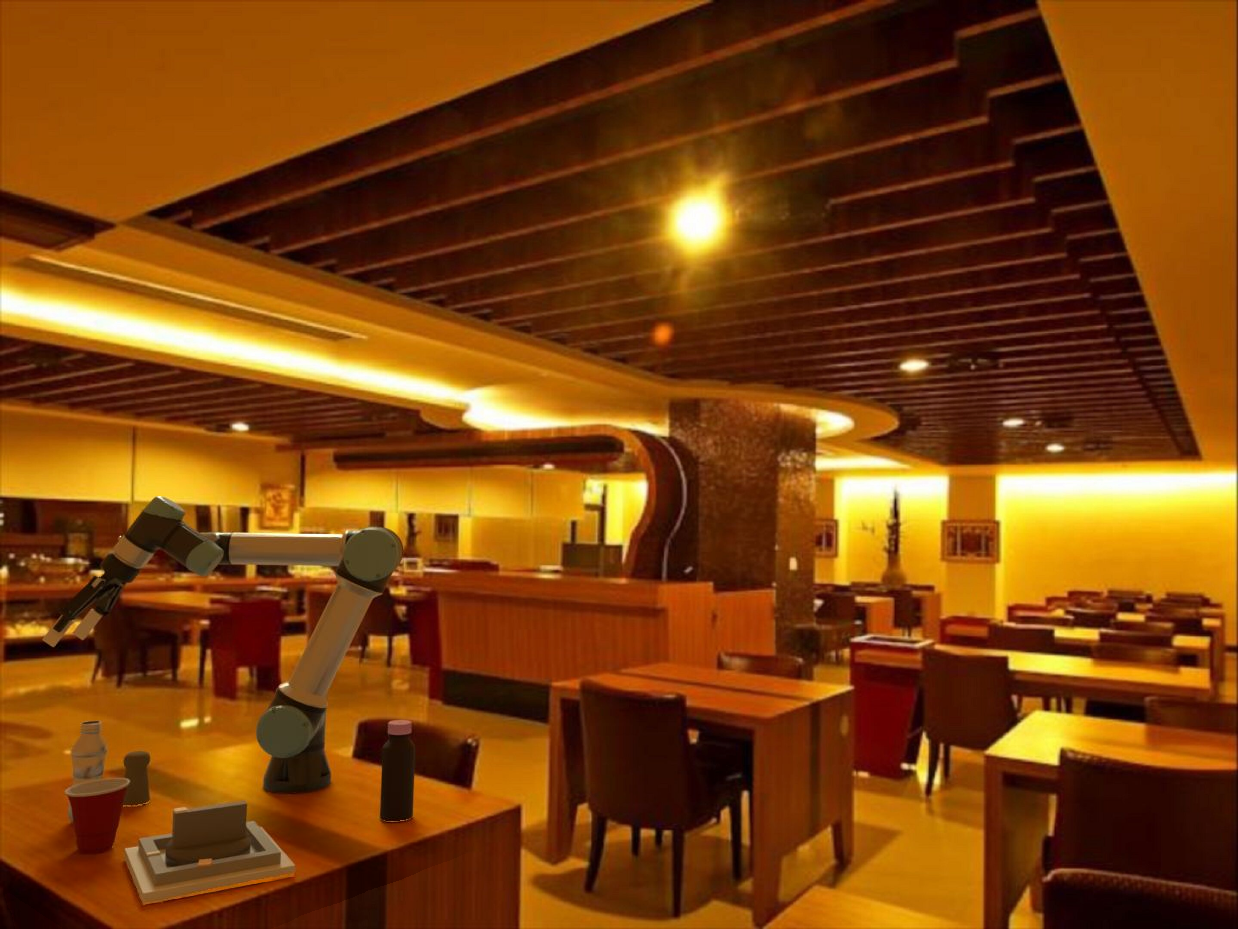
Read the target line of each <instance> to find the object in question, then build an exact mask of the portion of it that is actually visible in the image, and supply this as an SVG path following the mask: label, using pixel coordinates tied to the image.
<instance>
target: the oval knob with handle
mask: <svg viewBox="0 0 1238 929" xmlns="http://www.w3.org/2000/svg"><path fill="white" fill-rule="evenodd" d="M247 811H248V803H247V801H245V800H240V801H235V802H233V801H232V802H228V803H227V802H226V803H220V804H218V803H217V804H214V805H206V806H205V805H204V806H199V807H191V808H187V807H186V806H184V807H175V808H173V812H172V813H173V814H172V831H171V834H172V840H170V841H169V842H168V843H167V844H166V852H165V862H166V864H168V865H169V866H171V867H176V866H182V865H187V864H193V863H199V860H201V859H212V860H216V859H222V858H228V857H234V856H240V855H245V854H249V853H250V848H251V836H250V834H249V833H247V832H246V822H247V815H248V812H247Z"/></svg>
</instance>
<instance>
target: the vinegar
mask: <svg viewBox="0 0 1238 929" xmlns="http://www.w3.org/2000/svg"><path fill="white" fill-rule="evenodd" d="M412 724H413V723H412V721H411V720H408V719H407V720H406V719H395V720H390V721H389V722H387V736H388V740H387V741H386V742H385V743H384V744H383V746H382V753H381V754H382V756H381V778H380V779H381V780H380V803H379V804H380V806H379V808H380V809H379V818H380V819H379V820H381V819H382V820H385V821H400V820H406V819H409V818H411V817H412V818H413V815H414V814H413V813H414V790H415V769H416V768H415V766H416V765H415V764H416V763H415V762H416V761H415V760H416V745H415V743H414V742H413V741H412V740H411V738H410V737H411V735H412ZM412 818H411V819H412ZM382 820H381V821H382ZM385 821H384V822H385Z"/></svg>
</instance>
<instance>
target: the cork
mask: <svg viewBox="0 0 1238 929" xmlns="http://www.w3.org/2000/svg"><path fill="white" fill-rule="evenodd" d="M150 762H151V754H150V753H149V752H148V751H145V750H134V751H130V752H128V753H126V755H125V756H124V758H123V766H124V768H125V773H124V777H123V778H126V779H129V780H130V784H129V785H128V788H127V791H126V794H125V799H124V802H123V805H131V806H132V805H138V804H143V803H146V802H148V801H149V800H150V801H151V799H150V784H149V774H148V766H149V764H150Z"/></svg>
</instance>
